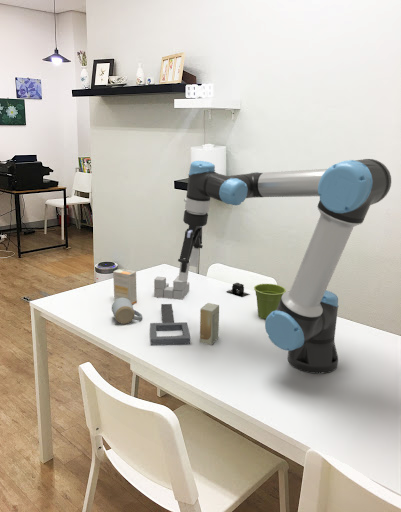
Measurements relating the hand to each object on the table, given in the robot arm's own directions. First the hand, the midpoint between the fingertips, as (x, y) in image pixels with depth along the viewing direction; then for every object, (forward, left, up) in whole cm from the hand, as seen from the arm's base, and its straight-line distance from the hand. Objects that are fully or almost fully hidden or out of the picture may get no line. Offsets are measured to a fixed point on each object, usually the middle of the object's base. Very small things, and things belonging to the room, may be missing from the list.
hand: (188, 273), depth 161 cm
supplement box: (+33, +22, -23) cm, 46 cm away
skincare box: (-4, -7, -23) cm, 24 cm away
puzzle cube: (+42, +3, -23) cm, 48 cm away
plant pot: (+15, -32, -23) cm, 42 cm away
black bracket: (+41, -25, -23) cm, 54 cm away
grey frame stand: (+9, +6, -23) cm, 25 cm away
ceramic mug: (+15, +21, -23) cm, 34 cm away
